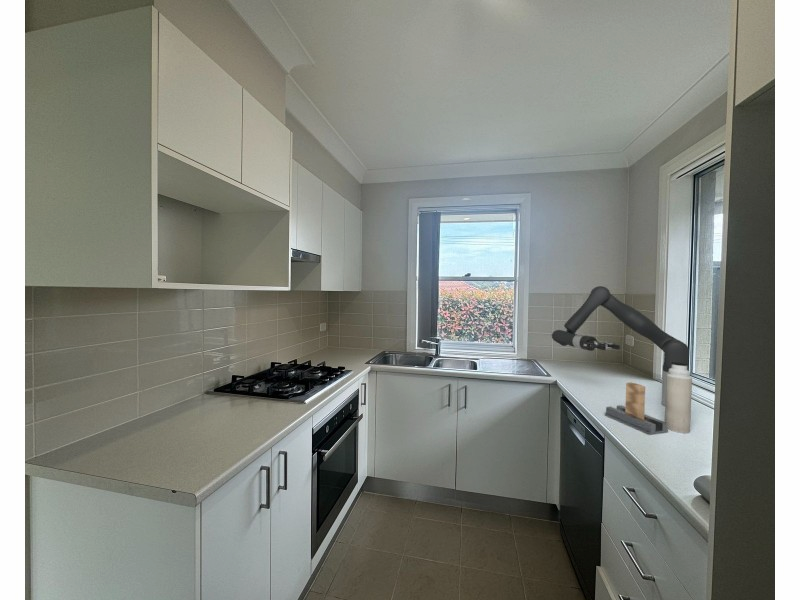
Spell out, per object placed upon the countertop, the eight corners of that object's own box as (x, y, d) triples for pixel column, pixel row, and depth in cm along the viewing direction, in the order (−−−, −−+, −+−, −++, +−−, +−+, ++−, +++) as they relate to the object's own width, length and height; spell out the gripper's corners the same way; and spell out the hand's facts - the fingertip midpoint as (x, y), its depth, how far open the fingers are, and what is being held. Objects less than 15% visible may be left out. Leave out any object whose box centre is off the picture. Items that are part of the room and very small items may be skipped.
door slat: (625, 418, 138) (626, 382, 137) (630, 418, 139) (631, 382, 138) (638, 424, 132) (639, 386, 132) (644, 423, 133) (645, 386, 132)
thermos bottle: (687, 427, 132) (689, 361, 131) (692, 435, 125) (695, 365, 124) (662, 423, 136) (665, 359, 135) (666, 430, 129) (668, 362, 128)
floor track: (604, 415, 144) (604, 406, 144) (621, 413, 146) (621, 405, 146) (649, 435, 124) (649, 425, 124) (668, 432, 127) (668, 422, 127)
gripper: (573, 335, 164) (600, 340, 149) (595, 335, 168) (624, 339, 152) (573, 349, 165) (600, 356, 149) (595, 348, 168) (623, 354, 153)
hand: (612, 347), depth 151 cm, fingers open, 8 cm apart
